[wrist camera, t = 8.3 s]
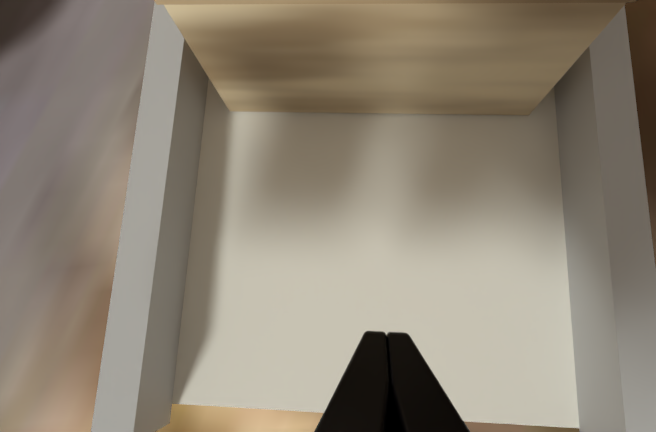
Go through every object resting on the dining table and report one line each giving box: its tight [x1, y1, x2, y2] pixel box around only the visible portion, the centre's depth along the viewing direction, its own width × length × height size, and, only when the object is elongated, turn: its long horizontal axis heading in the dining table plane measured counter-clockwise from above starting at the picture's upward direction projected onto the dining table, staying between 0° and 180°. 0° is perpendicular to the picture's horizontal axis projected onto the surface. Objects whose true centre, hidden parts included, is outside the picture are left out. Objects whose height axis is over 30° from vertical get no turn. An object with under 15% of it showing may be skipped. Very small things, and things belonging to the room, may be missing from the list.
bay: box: [91, 3, 656, 432], centre depth 14 cm, size 19×16×6 cm
